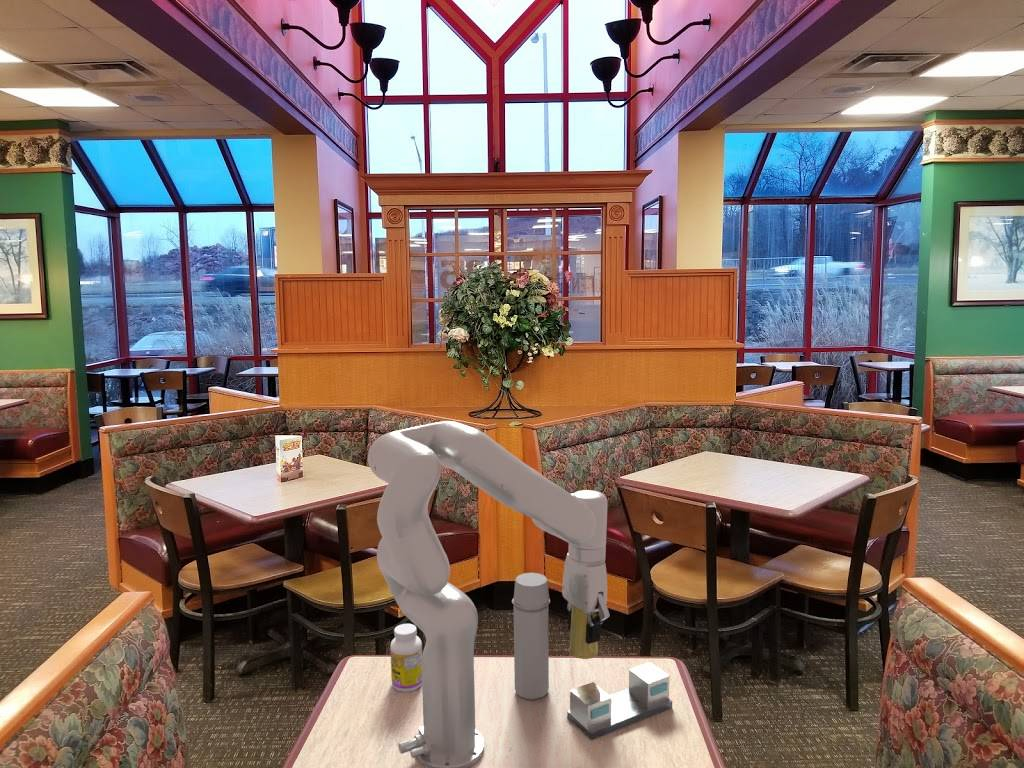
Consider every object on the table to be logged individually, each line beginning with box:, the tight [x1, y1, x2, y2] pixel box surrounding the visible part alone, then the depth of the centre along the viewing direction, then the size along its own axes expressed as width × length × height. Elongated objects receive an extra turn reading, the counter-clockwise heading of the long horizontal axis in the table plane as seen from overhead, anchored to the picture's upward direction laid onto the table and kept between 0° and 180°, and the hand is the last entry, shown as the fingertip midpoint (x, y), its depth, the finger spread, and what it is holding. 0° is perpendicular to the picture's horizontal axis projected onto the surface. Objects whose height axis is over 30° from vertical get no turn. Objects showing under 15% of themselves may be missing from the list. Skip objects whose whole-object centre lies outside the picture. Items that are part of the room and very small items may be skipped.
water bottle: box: [511, 572, 551, 700], centre depth 152 cm, size 9×8×25 cm
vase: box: [568, 604, 599, 660], centre depth 151 cm, size 6×6×14 cm
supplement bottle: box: [389, 623, 423, 693], centre depth 156 cm, size 7×7×13 cm
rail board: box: [566, 661, 673, 741], centre depth 145 cm, size 20×8×6 cm, turn 119°
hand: (583, 634), depth 151 cm, fingers closed on vase, 5 cm apart
